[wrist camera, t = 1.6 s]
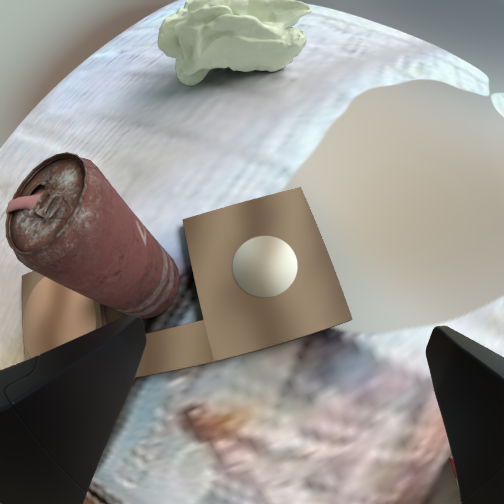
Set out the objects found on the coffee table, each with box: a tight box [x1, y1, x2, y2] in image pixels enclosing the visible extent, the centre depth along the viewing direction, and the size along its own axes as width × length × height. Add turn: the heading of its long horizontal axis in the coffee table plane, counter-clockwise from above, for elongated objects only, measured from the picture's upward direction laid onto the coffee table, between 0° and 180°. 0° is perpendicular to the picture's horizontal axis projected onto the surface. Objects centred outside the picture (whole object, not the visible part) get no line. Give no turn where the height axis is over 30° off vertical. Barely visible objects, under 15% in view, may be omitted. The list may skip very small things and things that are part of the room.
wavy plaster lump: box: [158, 0, 312, 86], centre depth 29 cm, size 18×13×16 cm
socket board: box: [22, 187, 352, 378], centre depth 23 cm, size 30×12×1 cm, turn 106°
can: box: [6, 152, 179, 319], centre depth 17 cm, size 6×6×14 cm
